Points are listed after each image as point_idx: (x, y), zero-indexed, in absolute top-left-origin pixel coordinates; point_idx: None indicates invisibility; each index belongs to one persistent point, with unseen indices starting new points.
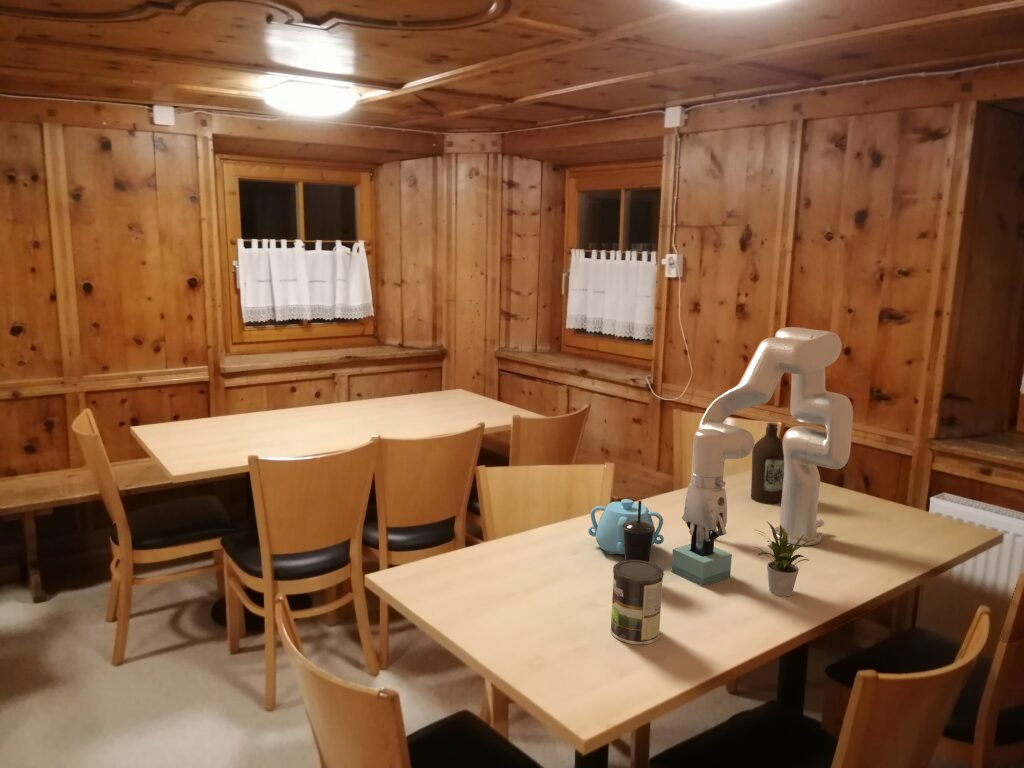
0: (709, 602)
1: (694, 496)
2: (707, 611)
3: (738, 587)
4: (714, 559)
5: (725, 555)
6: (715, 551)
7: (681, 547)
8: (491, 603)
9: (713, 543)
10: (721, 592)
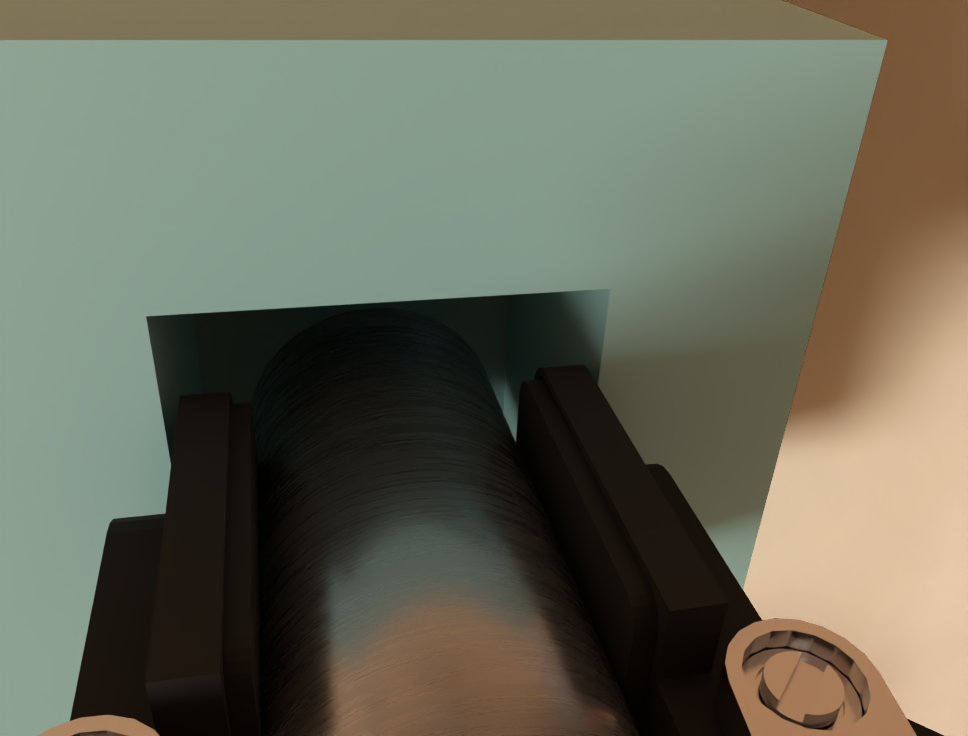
0: (820, 593)
1: None
2: None
3: (890, 126)
4: (759, 515)
5: (817, 229)
6: (552, 251)
7: (19, 680)
8: None
9: (740, 606)
10: (804, 387)
